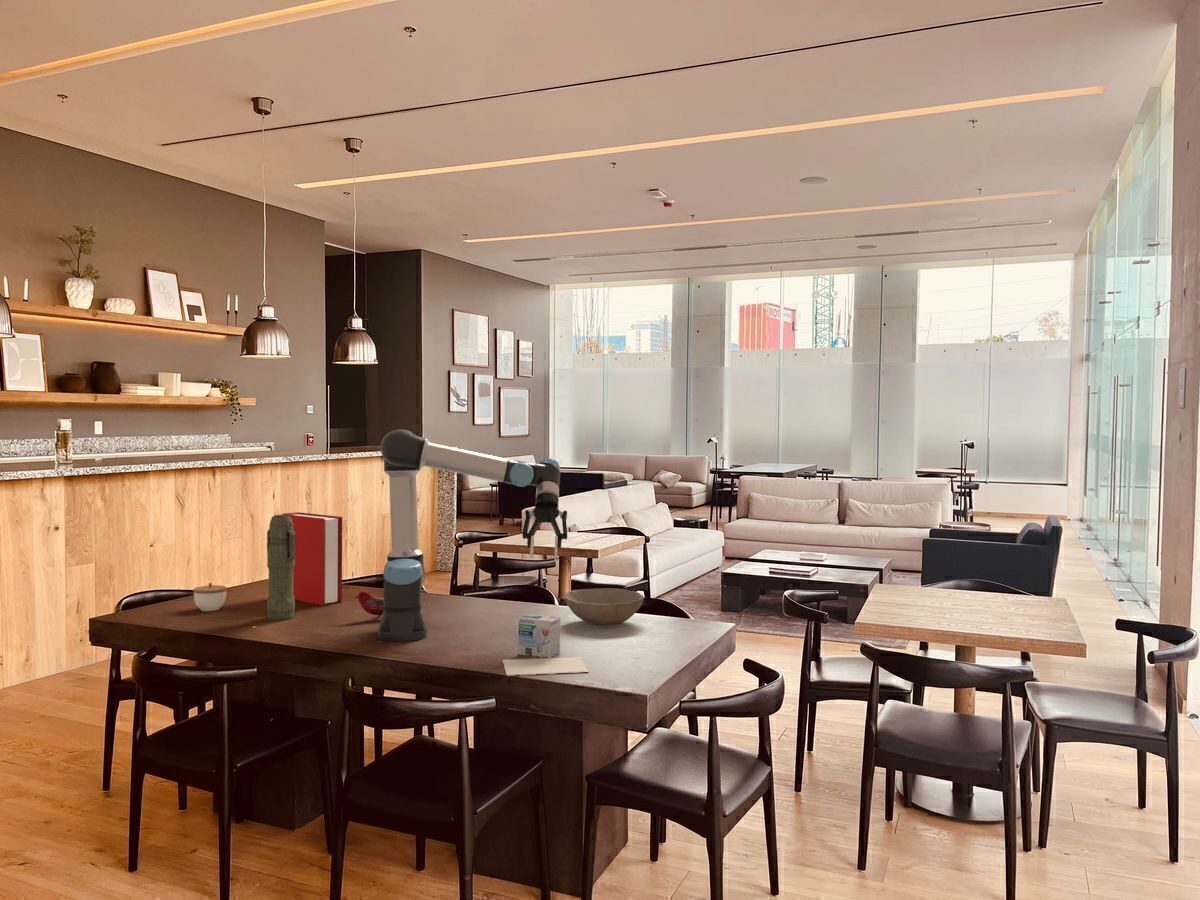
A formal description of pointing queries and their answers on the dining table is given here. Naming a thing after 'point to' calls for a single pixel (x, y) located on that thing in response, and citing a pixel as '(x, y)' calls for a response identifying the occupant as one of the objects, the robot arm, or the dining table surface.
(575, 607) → the bowl
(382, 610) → the decorative bird figurine
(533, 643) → the light bulb box
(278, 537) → the stone statue
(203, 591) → the lidded jar
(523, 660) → the mat
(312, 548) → the book
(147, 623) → the dining table surface
